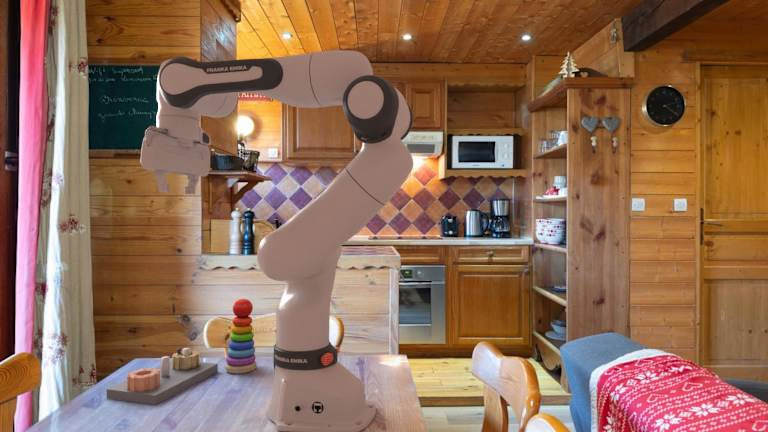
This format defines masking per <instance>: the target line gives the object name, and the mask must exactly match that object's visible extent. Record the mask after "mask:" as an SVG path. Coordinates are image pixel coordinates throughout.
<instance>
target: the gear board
mask: <svg viewBox="0 0 768 432" xmlns="http://www.w3.org/2000/svg"><path fill="white" fill-rule="evenodd" d="M182 351H183V356H188V355H190V351H191V348H190V347H184V348H182ZM160 359H161V360H160V362H161V363H160V365H159V366H157V367H155V368H156V370H158V369H159V370H160V384H159V386H158V387H154V389H151V390H144V391H141V392H139V391H134V392H132V391H130V390H127V380H125V381H122V382H120V383H118V384H116V385H113V386H111V387H109V388H108V387H107V388H106V399H112V400H117V401H126V402H132V403H137V404H146V405H151V406H152V405H153V406H154V405H155V406H156V405H157V404H159V403H161V402H163V401H164V400H167V399H168V398H170V397H173V396H174V395H176V394H178V393H180V392H182V391H183V390H185V389H187V388H189V387H191V386H193V385H195V384H197V383H199V382H200V381H203V380H204V379H207V378H208V377H209V376H212V375H213V374H216V373H218V371H219V367H218V366H219V365H218V363H213V362H207V361H206V362H205V361H204V362H203V361H200V365H199V366H196V368H190V369H187V370H183V369H180V370H176V369H175V368H174V369H173V368H172V360H170V356H168V355H167V356H166V355H165V356H162V357H161V358H160Z"/></svg>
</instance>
